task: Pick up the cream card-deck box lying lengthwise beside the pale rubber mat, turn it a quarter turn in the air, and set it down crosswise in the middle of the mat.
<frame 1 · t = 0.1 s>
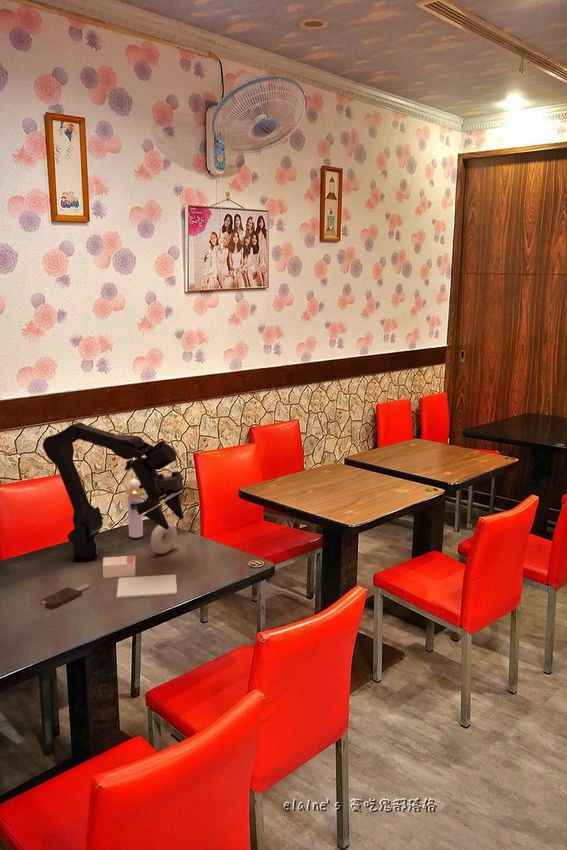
hand: (175, 523, 204), 15 cm above the table, tool tilted 30°, fingers open, 9 cm apart
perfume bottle: (136, 537, 234), on the table
ice cream bar: (67, 598, 190), on the table
card deck: (119, 573, 206), on the table
donut: (164, 553, 221), on the table
mat: (147, 586, 197), on the table
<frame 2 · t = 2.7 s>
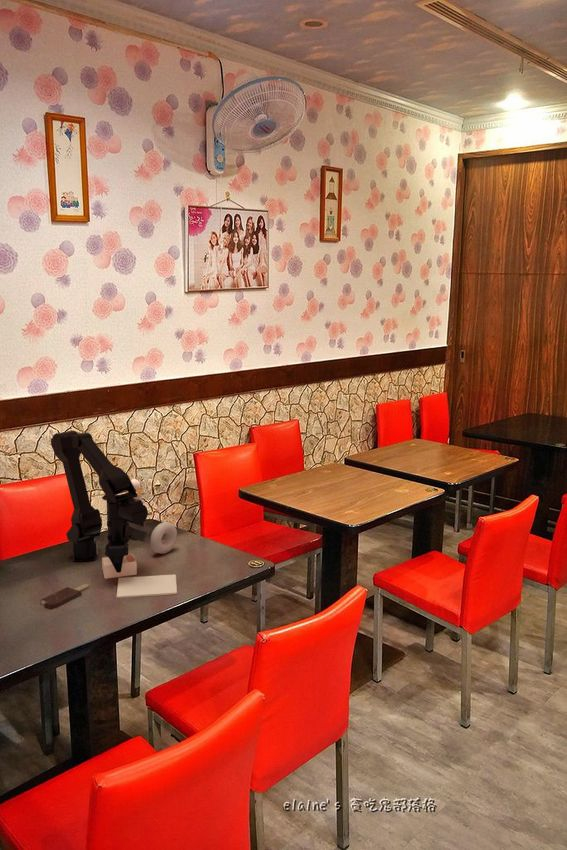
hand: (119, 567, 206), 2 cm above the table, tool pointing down, fingers closed on card deck, 6 cm apart
card deck: (119, 572, 206), on the table, touching gripper
everything else where it was.
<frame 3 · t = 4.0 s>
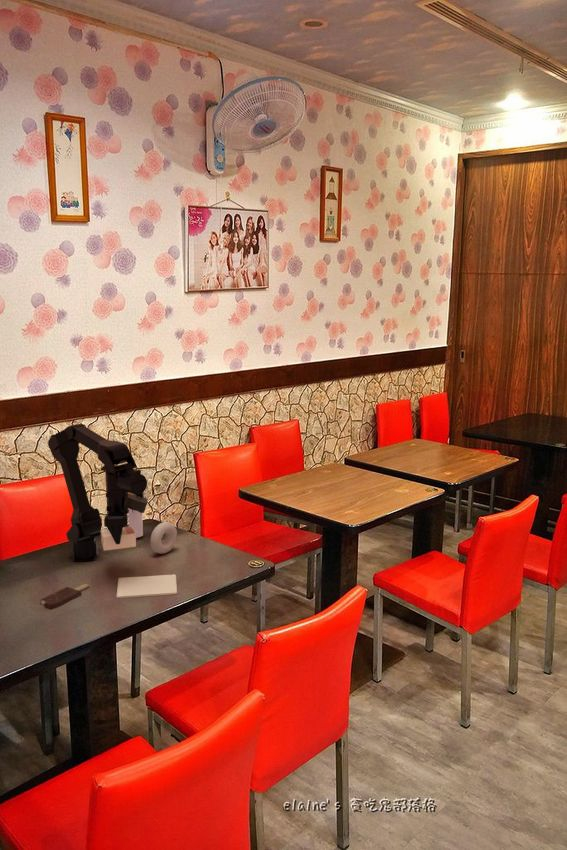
hand: (118, 539, 204), 10 cm above the table, tool pointing down, fingers closed on card deck, 6 cm apart
card deck: (118, 544, 204), point 9 cm above the table, touching gripper
everything else where it was.
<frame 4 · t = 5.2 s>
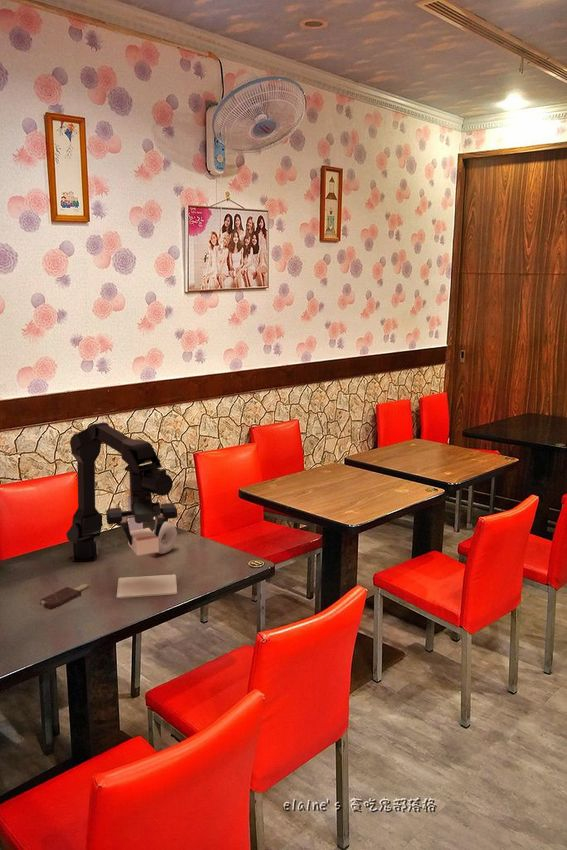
hand: (143, 543, 195), 12 cm above the table, tool pointing down, fingers closed on card deck, 6 cm apart
card deck: (143, 548, 195), point 11 cm above the table, touching gripper
everything else where it was.
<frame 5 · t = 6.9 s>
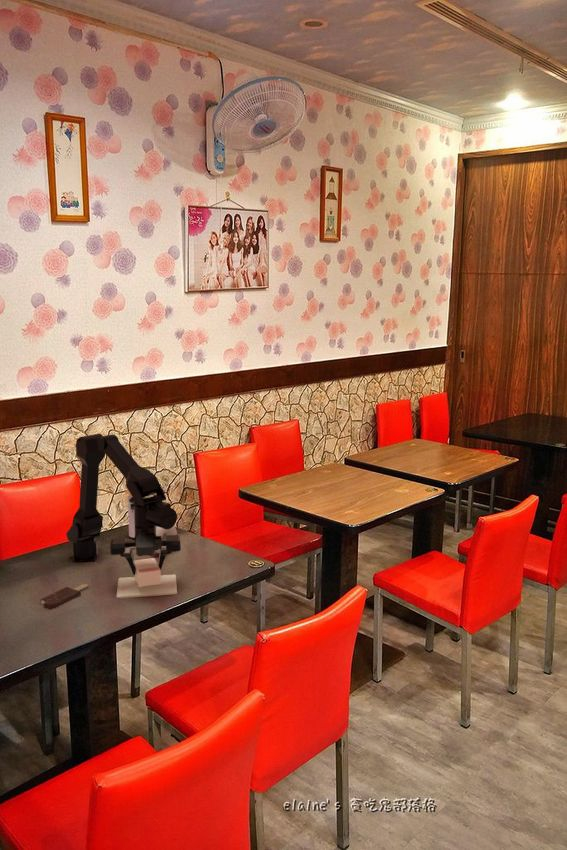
hand: (146, 573, 196), 4 cm above the table, tool pointing down, fingers closed on card deck, 6 cm apart
card deck: (147, 578, 196), point 2 cm above the table, touching gripper
everything else where it was.
when the fingers open (3 cm above the table, at t = 8.0 s): card deck drops 1 cm, resting on mat.
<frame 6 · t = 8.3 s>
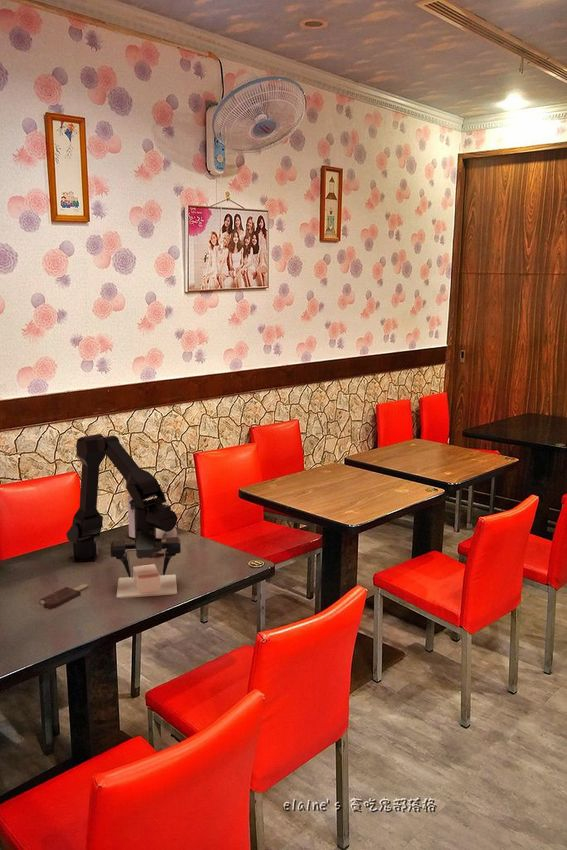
hand: (146, 575, 196), 3 cm above the table, tool pointing down, fingers open, 9 cm apart
card deck: (146, 584, 197), resting on mat
everything else where it was.
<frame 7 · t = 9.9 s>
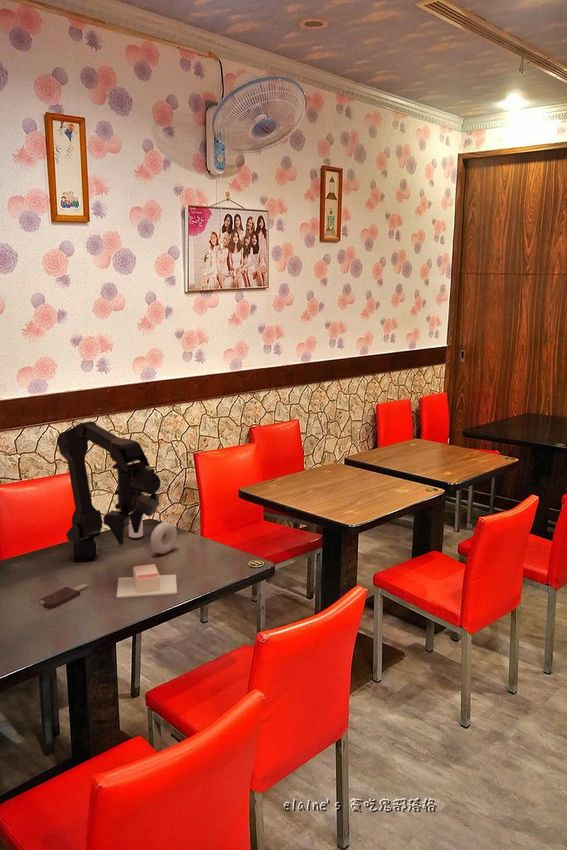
hand: (128, 538, 201), 11 cm above the table, tool pointing down, fingers open, 9 cm apart
nothing on the table moved.
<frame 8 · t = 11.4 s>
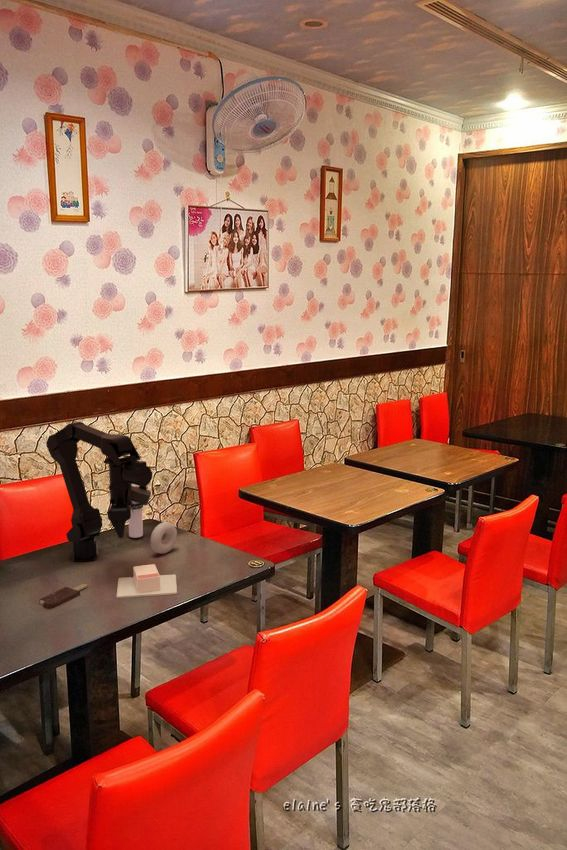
hand: (121, 532, 205), 12 cm above the table, tool pointing down, fingers open, 9 cm apart
nothing on the table moved.
at the end: card deck inside the target area on the mat (0.1 cm from its centre), point 0.5 cm above the mat's base; the gripper is holding nothing; card deck tilted 0° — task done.
